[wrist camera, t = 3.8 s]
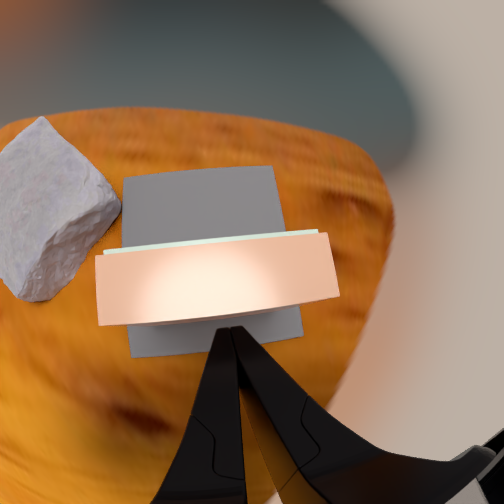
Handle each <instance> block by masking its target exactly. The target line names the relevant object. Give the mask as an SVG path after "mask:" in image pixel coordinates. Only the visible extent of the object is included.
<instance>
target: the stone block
mask: <svg viewBox="0 0 504 504" xmlns="http://www.w3.org/2000/svg"><path fill="white" fill-rule="evenodd" d="M120 212H121V201H120V200H119V199H118V197H117V195H116V193H115V191H114V190H113V189H112V186H111V185H110V184H109V183H108V182H107V180H106V179H105V178H104V176H103V174H101V173H100V172H99V171H98V170H97V169H96V168H95V167H94V166H93V165H92V163H91V162H90V161H89V160H88V159H87V158H86V157H85V156H84V155H82V154H81V153H80V152H79V151H78V150H77V149H76V148H75V147H74V146H73V145H71V144H70V143H69V142H67V141H66V140H65V139H64V138H63V137H62V136H60V135H59V133H58V132H57V131H56V130H55V129H54V128H53V127H52V126H51V124H50V123H49V122H48V120H47V119H46V118H45V117H43V116H41V117H39V118H38V119H37V120H36V121H35V122H34V123H32V124H31V125H29V126H28V127H27V128H26V129H24V130H23V131H22V132H21V133H19V134H18V135H17V136H16V137H15V139H14V140H12V141H11V142H10V143H9V144H8V145H7V146H6V147H5V148H4V149H3V150H2V151H1V153H0V278H1V279H3V282H4V284H5V285H7V286H8V288H9V289H10V290H11V291H12V293H13V294H14V295H15V296H16V297H17V298H20V299H22V300H24V301H28V302H36V301H44V300H50V299H51V298H53V297H54V296H55V295H56V294H57V293H58V292H59V291H60V290H61V289H62V288H63V287H64V286H66V285H67V284H68V283H69V282H70V281H71V280H72V279H73V278H74V276H75V274H76V272H77V270H78V269H79V267H80V265H81V263H82V262H84V260H85V258H86V255H87V252H88V251H89V250H90V249H91V247H92V246H93V245H94V244H95V243H96V242H97V241H98V240H99V239H100V238H101V237H102V236H103V235H104V233H105V232H106V231H107V229H108V228H109V227H110V225H111V224H112V222H113V221H114V220H115V219H116V218H117V217H118V215H119V213H120Z"/></svg>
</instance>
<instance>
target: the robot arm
mask: <svg viewBox="0 0 504 504" xmlns="http://www.w3.org/2000/svg"><path fill="white" fill-rule="evenodd" d="M239 392H240V395H241V398H242V401H243V404H244V406H245V409H246V412H247V415H248V418H249V420H250V423H251V426H252V429H253V431H254V434H255V437H256V439H257V442H258V445H259V447H260V450H261V452H262V455H263V457H264V460H265V462H266V465H267V467H268V470H269V472H270V475H271V477H272V480H273V482H274V485H275V487H276V489H277V492H278V494H279V496H280V499H281V501H282V503H283V504H504V428H503V429H502V430H500V431H499V432H498V433H497V434H495V435H494V436H493V437H492V438H490V439H489V440H488V441H487V442H486V443H485V444H483V445H482V446H478V445H474V446H472V447H470V448H468V449H467V450H465V451H464V452H462V453H461V454H460V455H458V456H456V457H455V458H453V459H452V460H450V461H436V460H429V459H422V458H416V457H410V456H405V455H399V454H394V453H391V452H387V451H384V450H382V449H380V448H378V447H376V446H374V445H372V444H371V443H369V442H368V441H366V440H365V439H363V438H362V437H360V436H359V435H357V434H356V433H354V432H353V431H352V430H350V429H349V428H347V427H346V426H345V425H343V424H342V423H340V422H339V421H338V420H337V419H335V418H334V417H333V416H331V415H330V414H329V413H328V412H327V411H326V410H324V409H323V408H322V407H321V406H320V405H319V404H318V403H317V402H316V401H315V400H314V399H313V398H312V397H311V396H308V394H307V393H306V392H305V391H304V390H303V389H302V388H301V387H300V386H299V385H298V384H297V383H296V382H295V380H294V379H293V378H292V377H291V376H290V375H289V374H288V373H287V372H286V371H285V370H284V369H283V368H282V367H281V366H280V365H279V364H278V363H277V362H276V361H275V360H274V359H273V358H272V357H271V356H270V355H269V354H268V352H267V351H266V350H265V349H264V348H263V347H262V346H261V345H260V344H259V343H258V342H257V341H256V340H255V338H254V337H253V336H252V335H251V334H250V333H249V332H248V331H247V330H246V329H245V328H244V327H243V326H242V325H239V326H231V327H230V328H229V327H222V328H217V329H216V331H215V335H214V338H213V341H212V344H211V348H210V351H209V354H208V357H207V361H206V364H205V367H204V370H203V374H202V377H201V380H200V384H199V387H198V390H197V394H196V397H195V400H194V404H193V407H192V410H191V415H190V417H189V420H188V423H187V427H186V429H185V432H184V435H183V438H182V441H181V443H180V446H179V448H178V450H177V453H176V455H175V457H174V459H173V461H172V464H171V466H170V468H169V470H168V472H167V474H166V476H165V478H164V480H163V482H162V484H161V486H160V488H159V490H158V492H157V494H156V495H155V497H154V498H153V500H152V501H151V503H150V504H248V502H247V492H246V482H245V468H244V456H243V443H242V429H241V414H240V399H239Z"/></svg>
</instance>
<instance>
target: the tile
mask: <svg viewBox="0 0 504 504" xmlns="http://www.w3.org/2000/svg"><path fill="white" fill-rule="evenodd" d="M95 268H96V295H97V309H98V321H99V326H140V327H151V326H164V325H175V324H185V323H194V322H203V321H212V320H220V319H228V318H236V317H243V316H250V315H257V314H263V313H270V312H276V311H280V310H285V309H289V308H294V307H298V306H302V305H306V304H311V303H315V302H319V301H323V300H327V299H331V298H335V297H338V296H340V294H339V288H338V283H337V278H336V272H335V267H334V262H333V258H332V253H331V248H330V244H329V239H328V235H327V233H318V229H312V230H300V231H288V232H276V233H265V234H254V235H243V236H232V237H222V238H212V239H201V240H192V241H182V242H172V243H163V244H153V245H144V246H135V247H126V248H118V249H109V250H104V255H97V256H95Z"/></svg>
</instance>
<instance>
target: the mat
mask: <svg viewBox="0 0 504 504" xmlns="http://www.w3.org/2000/svg"><path fill="white" fill-rule="evenodd" d="M276 232H286V230H285V225H284V220H283V215H282V210H281V205H280V200H279V195H278V190H277V186H276V181H275V176H274V172H273V167H272V166H245V167H225V168H210V169H197V170H185V171H175V172H166V173H157V174H149V175H141V176H134V177H127V178H124V183H123V203H122V248H126V247H135V246H144V245H153V244H163V243H172V242H182V241H192V240H201V239H212V238H222V237H232V236H243V235H254V234H265V233H276ZM239 325H242V326H243V327H244V328H245V329H246V330H247V331H248V332H249V333H250V334H251V335H252V336H253V337H254V338H255V340H256V341H257V342H258V343H259V344H263V343H269V342H274V341H280V340H285V339H290V338H295V337H300V336H304V333H303V327H302V321H301V314H300V308H299V306H298V307H294V308H289V309H285V310H280V311H276V312H270V313H263V314H257V315H250V316H243V317H236V318H228V319H220V320H212V321H203V322H194V323H185V324H175V325H164V326H151V327H140V326H127V330H128V338H129V345H130V352H131V358H138V357H155V356H168V355H179V354H190V353H199V352H208V351H210V348H211V344H212V341H213V338H214V335H215V331H216V329H217V328H222V327H229V328H230V327H231V326H239Z"/></svg>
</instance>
